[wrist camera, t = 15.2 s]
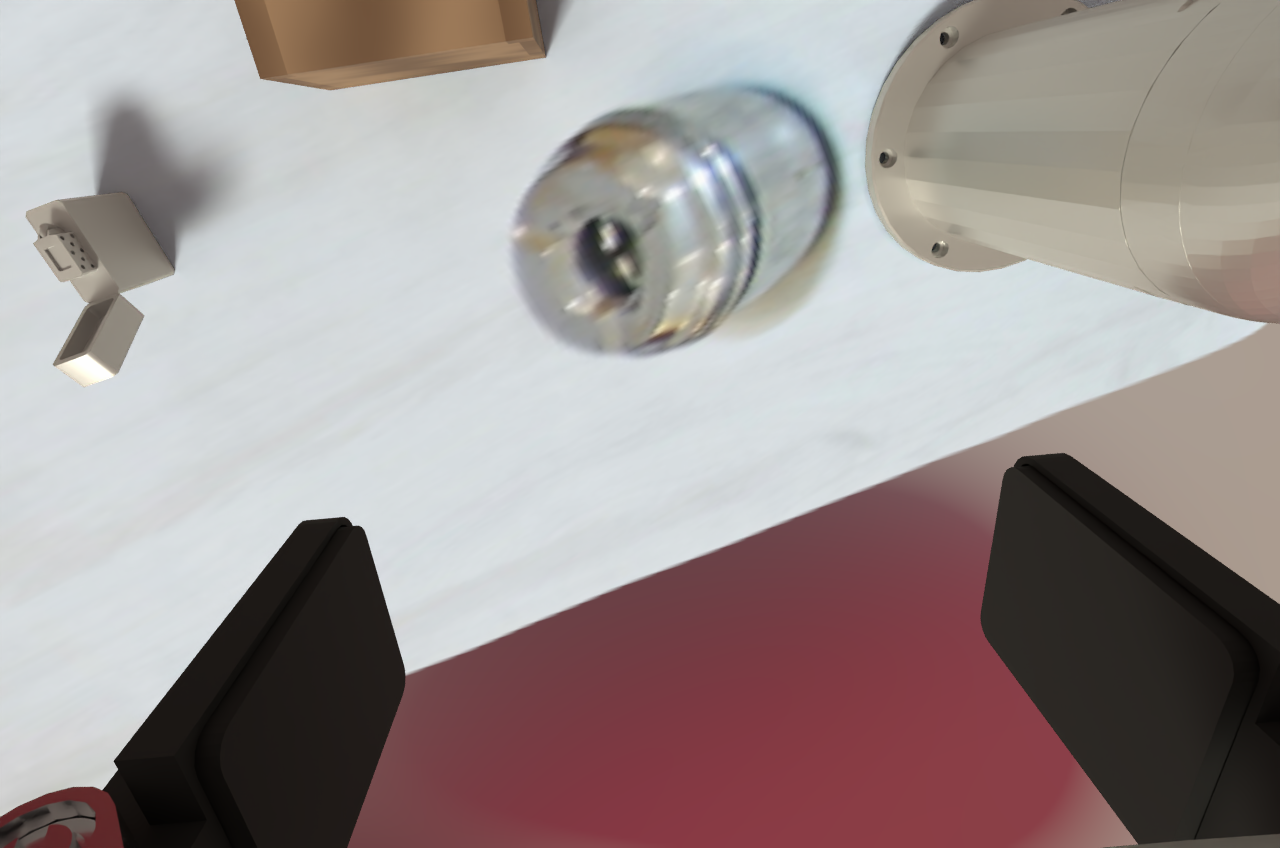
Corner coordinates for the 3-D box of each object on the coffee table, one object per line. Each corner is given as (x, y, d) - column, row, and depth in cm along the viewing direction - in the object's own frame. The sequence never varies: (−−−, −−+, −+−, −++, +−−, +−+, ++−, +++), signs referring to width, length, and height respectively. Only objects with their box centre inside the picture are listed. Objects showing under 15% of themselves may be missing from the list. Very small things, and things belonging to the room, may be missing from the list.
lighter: (93, 203, 32) (-57, 223, 25) (125, 190, 32) (-16, 207, 24) (180, 338, 35) (70, 393, 27) (210, 327, 35) (108, 379, 27)
